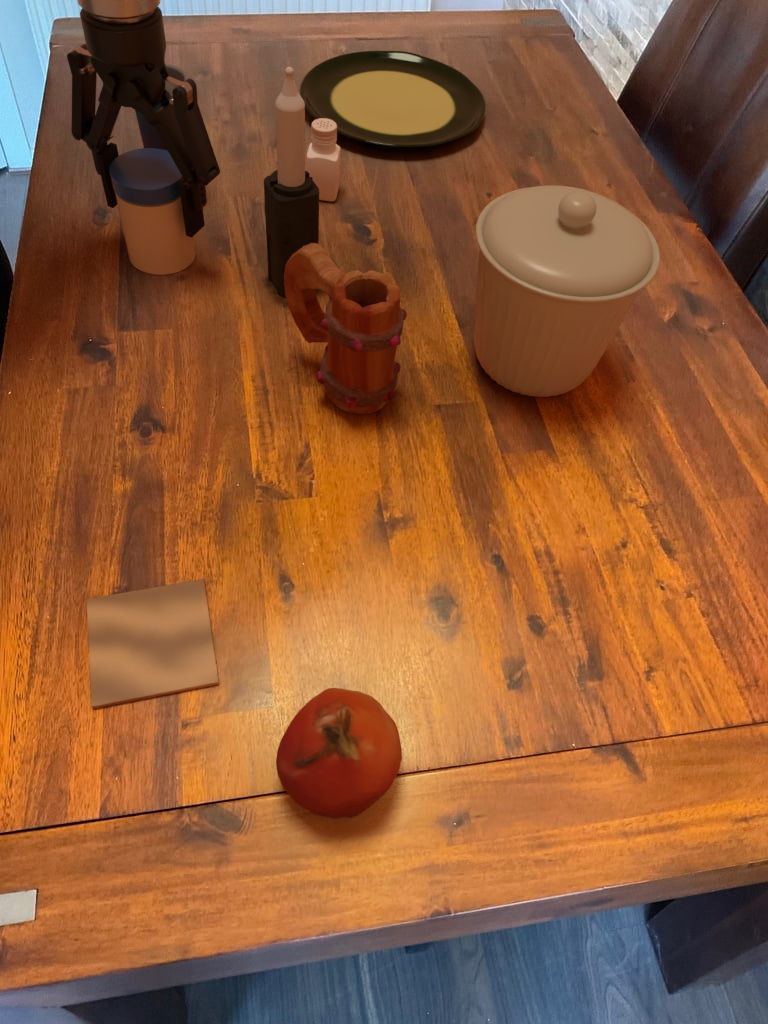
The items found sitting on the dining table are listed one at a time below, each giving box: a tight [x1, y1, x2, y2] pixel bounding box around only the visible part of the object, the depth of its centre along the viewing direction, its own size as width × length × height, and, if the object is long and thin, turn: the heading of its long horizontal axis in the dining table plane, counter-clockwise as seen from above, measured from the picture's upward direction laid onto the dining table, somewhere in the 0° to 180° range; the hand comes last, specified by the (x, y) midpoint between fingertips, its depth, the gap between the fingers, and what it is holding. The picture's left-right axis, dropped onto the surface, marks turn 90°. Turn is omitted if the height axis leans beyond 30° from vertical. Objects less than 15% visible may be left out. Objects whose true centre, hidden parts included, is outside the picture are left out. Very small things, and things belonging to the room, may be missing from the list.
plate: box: [299, 50, 487, 148], centre depth 121 cm, size 28×28×2 cm
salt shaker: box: [306, 118, 342, 202], centre depth 104 cm, size 4×4×10 cm
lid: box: [110, 147, 184, 205], centre depth 89 cm, size 8×8×2 cm
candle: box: [263, 66, 320, 298], centre depth 86 cm, size 5×5×25 cm
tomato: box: [275, 687, 403, 820], centre depth 59 cm, size 9×9×8 cm
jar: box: [115, 192, 197, 276], centre depth 93 cm, size 8×8×11 cm
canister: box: [473, 184, 661, 398], centre depth 83 cm, size 18×18×21 cm
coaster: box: [85, 578, 220, 710], centre depth 67 cm, size 10×10×1 cm
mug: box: [284, 243, 408, 414], centre depth 81 cm, size 15×8×15 cm, turn 48°
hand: (156, 215), depth 93 cm, fingers open, 10 cm apart
